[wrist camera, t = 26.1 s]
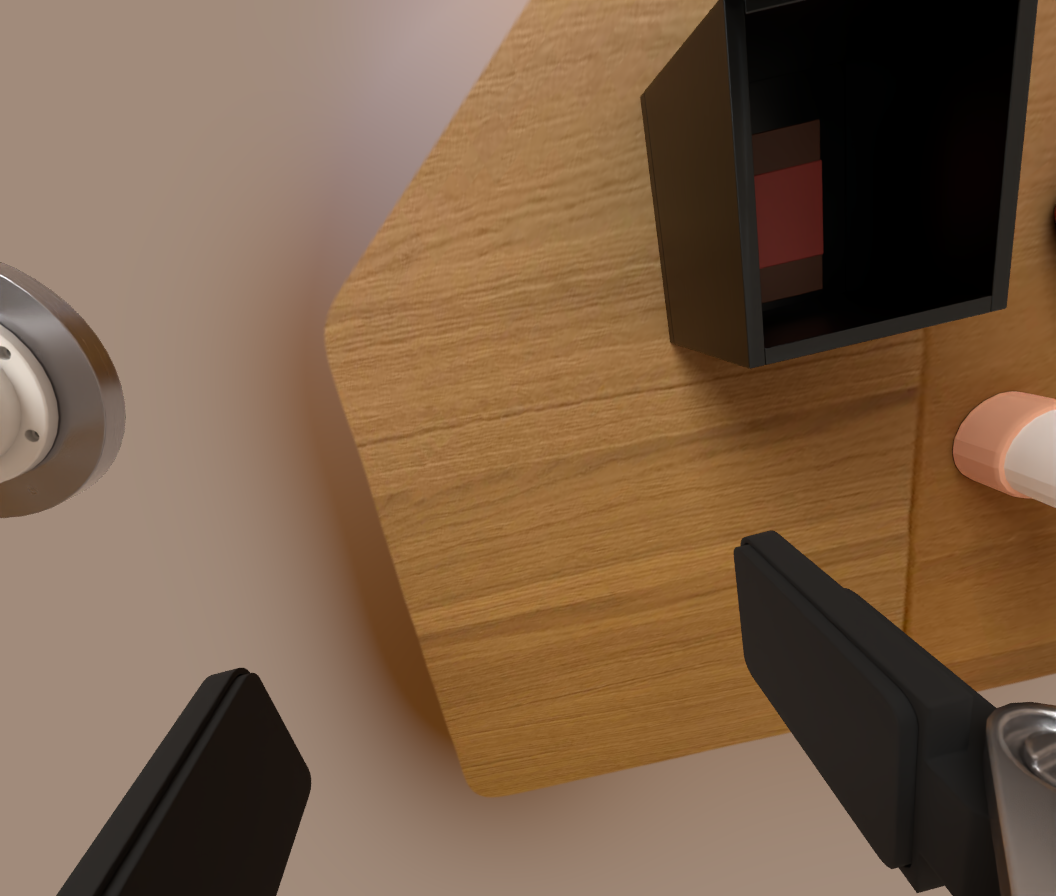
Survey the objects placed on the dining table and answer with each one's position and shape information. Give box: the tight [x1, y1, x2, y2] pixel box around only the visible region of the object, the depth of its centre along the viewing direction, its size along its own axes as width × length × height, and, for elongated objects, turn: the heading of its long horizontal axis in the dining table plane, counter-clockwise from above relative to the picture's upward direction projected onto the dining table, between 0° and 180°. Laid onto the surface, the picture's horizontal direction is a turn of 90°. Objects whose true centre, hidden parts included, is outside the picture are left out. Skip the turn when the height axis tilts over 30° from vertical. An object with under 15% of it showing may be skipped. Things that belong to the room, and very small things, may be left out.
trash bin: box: [640, 0, 1038, 369], centre depth 26 cm, size 15×13×11 cm
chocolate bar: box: [752, 119, 824, 304], centre depth 29 cm, size 9×4×3 cm, turn 12°
